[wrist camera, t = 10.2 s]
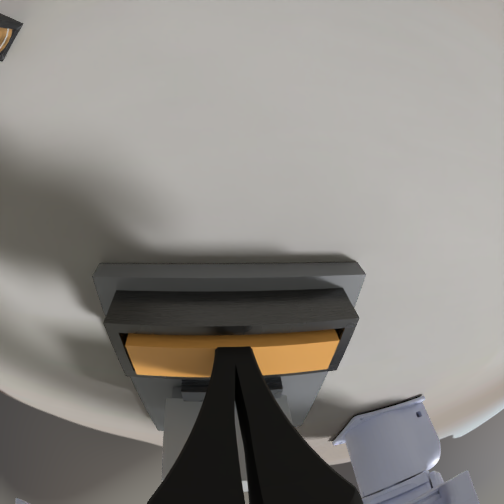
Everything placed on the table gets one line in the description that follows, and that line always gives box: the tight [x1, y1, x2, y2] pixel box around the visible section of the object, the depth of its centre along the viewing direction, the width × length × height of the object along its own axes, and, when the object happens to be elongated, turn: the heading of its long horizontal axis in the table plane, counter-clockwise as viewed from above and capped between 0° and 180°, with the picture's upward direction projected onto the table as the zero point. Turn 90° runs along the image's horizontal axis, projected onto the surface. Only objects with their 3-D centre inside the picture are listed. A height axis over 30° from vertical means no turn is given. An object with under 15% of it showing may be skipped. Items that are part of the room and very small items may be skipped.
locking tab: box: [125, 329, 340, 377], centre depth 11 cm, size 8×2×2 cm, turn 86°
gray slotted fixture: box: [104, 288, 359, 402], centre depth 15 cm, size 10×14×2 cm
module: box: [162, 387, 293, 492], centre depth 14 cm, size 7×4×6 cm, turn 86°
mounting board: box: [92, 262, 366, 431], centre depth 16 cm, size 12×16×1 cm
